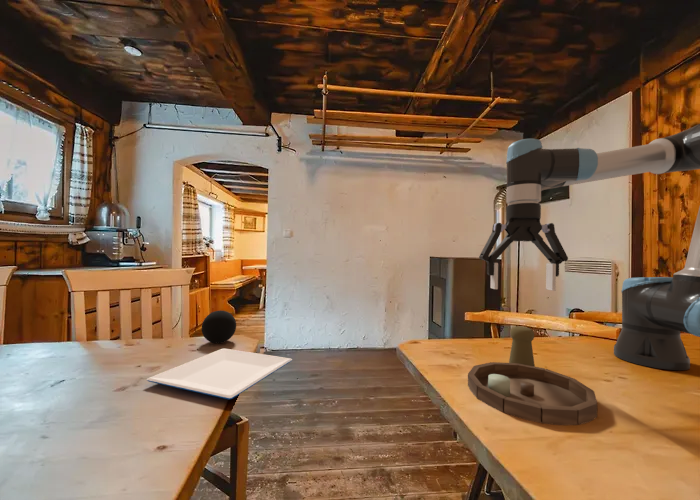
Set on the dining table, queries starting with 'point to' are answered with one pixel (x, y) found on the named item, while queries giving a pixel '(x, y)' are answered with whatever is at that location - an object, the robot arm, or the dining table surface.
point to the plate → (221, 372)
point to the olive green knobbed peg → (522, 346)
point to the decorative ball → (218, 327)
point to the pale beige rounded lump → (499, 384)
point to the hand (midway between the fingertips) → (522, 289)
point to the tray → (535, 394)
